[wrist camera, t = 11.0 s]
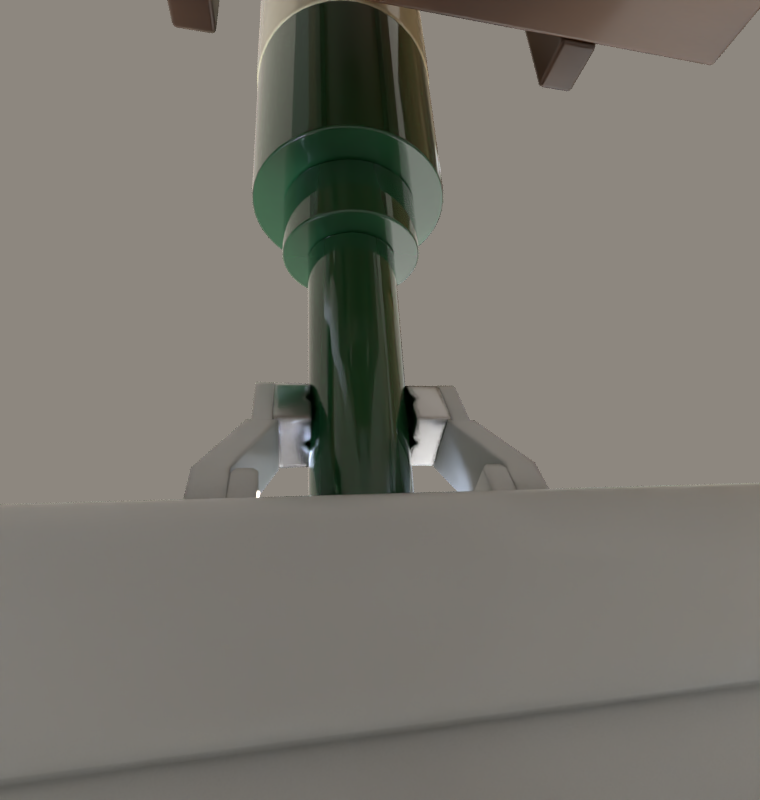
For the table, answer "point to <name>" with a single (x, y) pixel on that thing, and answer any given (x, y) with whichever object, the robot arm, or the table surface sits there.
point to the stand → (570, 27)
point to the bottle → (348, 215)
